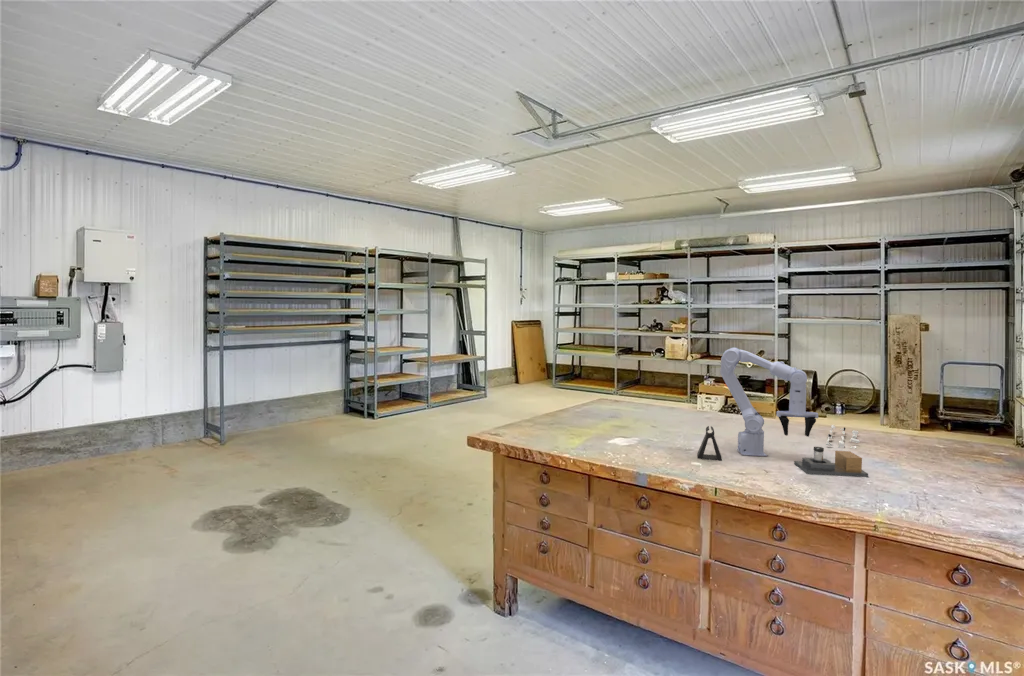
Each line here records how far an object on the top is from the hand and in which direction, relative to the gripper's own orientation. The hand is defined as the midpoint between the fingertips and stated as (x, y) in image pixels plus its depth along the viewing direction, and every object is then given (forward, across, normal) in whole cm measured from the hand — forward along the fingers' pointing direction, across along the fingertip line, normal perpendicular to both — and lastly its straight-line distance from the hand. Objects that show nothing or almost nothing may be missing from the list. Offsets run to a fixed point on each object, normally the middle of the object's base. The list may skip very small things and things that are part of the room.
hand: (796, 435), depth 205 cm
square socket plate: (+9, +7, -13) cm, 18 cm away
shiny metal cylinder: (+8, +3, -14) cm, 16 cm away
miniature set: (+10, +31, +35) cm, 48 cm away
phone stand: (+10, -33, -4) cm, 35 cm away
